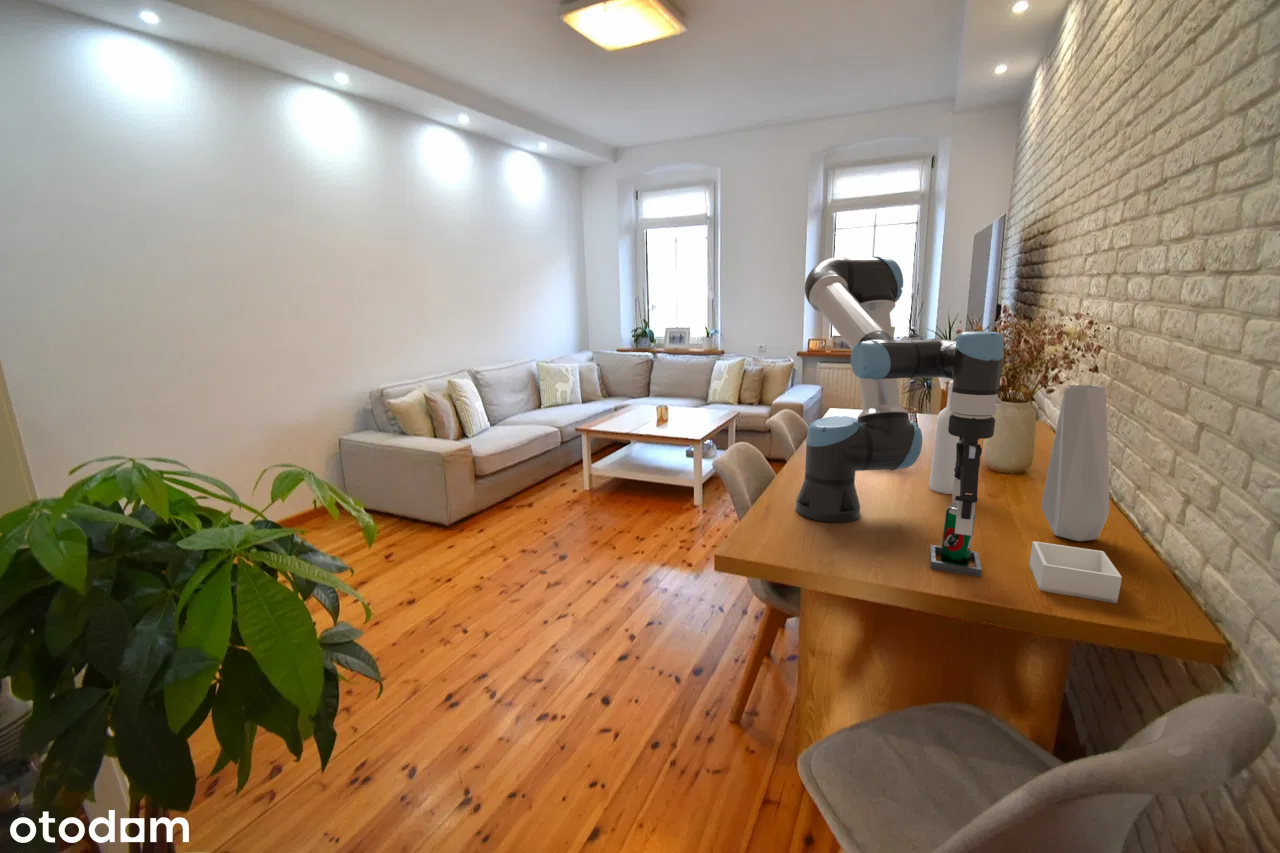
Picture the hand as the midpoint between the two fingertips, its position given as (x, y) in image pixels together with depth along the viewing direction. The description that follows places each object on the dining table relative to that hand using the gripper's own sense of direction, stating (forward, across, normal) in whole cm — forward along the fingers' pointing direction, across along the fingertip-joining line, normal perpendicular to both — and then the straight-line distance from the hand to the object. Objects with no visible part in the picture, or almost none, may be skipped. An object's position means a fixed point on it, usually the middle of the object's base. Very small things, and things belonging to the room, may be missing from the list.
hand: (960, 521), depth 112 cm
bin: (+9, 0, -19) cm, 21 cm away
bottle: (+8, +50, 0) cm, 50 cm away
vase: (+9, +26, -24) cm, 37 cm away
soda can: (+9, 0, 0) cm, 9 cm away
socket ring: (+9, 0, 0) cm, 9 cm away
